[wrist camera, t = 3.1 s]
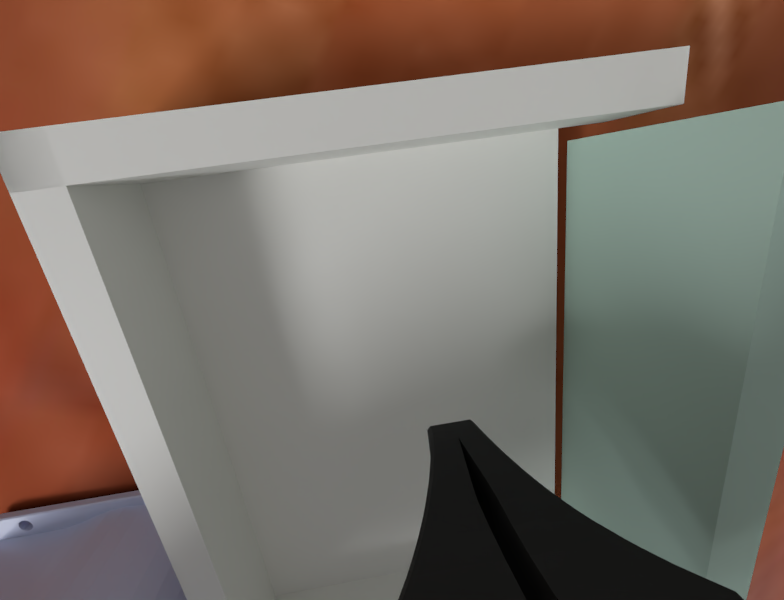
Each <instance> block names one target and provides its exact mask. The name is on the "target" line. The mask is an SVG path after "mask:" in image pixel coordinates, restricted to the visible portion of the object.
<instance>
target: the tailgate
mask: <svg viewBox="0 0 784 600" xmlns="http://www.w3.org/2000/svg"><path fill="white" fill-rule="evenodd" d="M783 447H784V101H780V102H775V103H770V104H764V105H759V106H753V107H748V108H743V109H737V110H732V111H726V112H721V113H715V114H710V115H705V116H699V117H694V118H688V119H683V120H678V121H672V122H667V123H661V124H656V125H650V126H645V127H640V128H634V129H629V130H623V131H618V132H613V133H607V134H602V135H596V136H591V137H586V138H580V139H575V140H569V141H567V188H566V247H565V305H564V363H563V421H562V480H561V499H562V500H563V501H565V502H566V503H567V504H569V505H570V506H572V507H573V508H575V509H576V510H578V511H579V512H581V513H582V514H584V515H585V516H587V517H589V518H590V519H592V520H593V521H595V522H597V523H599V524H600V525H602V526H604V527H605V528H607V529H609V530H611V531H612V532H614V533H616V534H617V535H619V536H621V537H623V538H624V539H626V540H628V541H630V542H632V543H633V544H635V545H637V546H639V547H641V548H643V549H645V550H647V551H649V552H651V553H653V554H655V555H657V556H659V557H661V558H663V559H665V560H667V561H669V562H671V563H673V564H675V565H677V566H679V567H681V568H684V569H686V570H688V571H690V572H693V573H695V574H697V575H699V576H702V577H704V578H706V579H708V580H711V581H713V582H715V583H717V584H720V585H722V586H724V587H727V588H729V589H731V590H733V591H736V592H737V593H738V594H739V595H740V596H741V597H742V598H743V599H744V600H746V598H747V594H748V590H749V586H750V582H751V578H752V574H753V570H754V566H755V562H756V558H757V553H758V549H759V545H760V541H761V537H762V533H763V529H764V525H765V521H766V517H767V513H768V509H769V504H770V500H771V496H772V492H773V488H774V484H775V480H776V476H777V472H778V468H779V464H780V459H781V455H782V451H783Z"/></svg>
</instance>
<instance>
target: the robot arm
mask: <svg viewBox="0 0 784 600" xmlns="http://www.w3.org/2000/svg"><path fill="white" fill-rule="evenodd" d="M427 432H428V440H429V449H430V473H429V484H428V490H427V497H426V503H425V509H424V514H423V519H422V524H421V528H420V532H419V536H418V540H417V544H416V547H415V551H414V554H413V558H412V561H411V564H410V568H409V571H408V574H407V577H406V579H405V582H404V585H403V588H402V590H401V593H400V596H399V599H398V600H744V599H743V598H742V597H741V596H740V595H739V594H738V593H737V592H736V591H733V590H731V589H729V588H727V587H724V586H722V585H720V584H717V583H715V582H713V581H711V580H708V579H706V578H704V577H702V576H699V575H697V574H695V573H693V572H690V571H688V570H686V569H684V568H681V567H679V566H677V565H675V564H673V563H671V562H669V561H667V560H665V559H663V558H661V557H659V556H657V555H655V554H653V553H651V552H649V551H647V550H645V549H643V548H641V547H639V546H637V545H635V544H633V543H632V542H630V541H628V540H626V539H624V538H623V537H621V536H619V535H617V534H616V533H614V532H612V531H611V530H609V529H607V528H605V527H604V526H602V525H600V524H599V523H597V522H595V521H593V520H592V519H590V518H589V517H587V516H585V515H584V514H582V513H581V512H579V511H578V510H576V509H575V508H573V507H572V506H570V505H569V504H567V503H566V502H565V501H563V500H562V499H560V498H559V497H558V496H556V495H555V494H553V493H552V492H551V491H549V490H548V489H547V488H545V487H544V486H543V485H542V484H540V483H539V482H538V481H537V480H535V479H534V478H533V477H532V476H530V475H529V474H528V473H527V472H526V471H524V470H523V469H522V468H521V467H520V466H519V465H517V464H516V463H515V462H514V461H513V460H512V459H511V458H510V457H509V456H507V455H506V454H505V453H504V452H503V451H502V450H501V449H500V448H499V447H498V446H497V445H496V444H495V443H494V442H493V441H492V440H490V439H489V438H488V437H487V436H486V434H485V433H484V432H483V431H482V430H481V429H480V428H479V427H478V426H477V425H476V424H475V423H474V422H473V421H471V420H470V419H469V420H463V421H457V422H452V423H446V424H440V425H434V426H430V427H429V428H428V430H427ZM0 600H187V599H186V596H185V594H184V592H183V590H182V587H181V585H180V583H179V580H178V578H177V576H176V574H175V571H174V569H173V567H172V564H171V562H170V560H169V558H168V555H167V553H166V551H165V548H164V546H163V544H162V541H161V539H160V537H159V535H158V532H157V530H156V528H155V525H154V523H153V521H152V519H151V516H150V514H149V512H148V509H147V507H146V505H145V503H144V500H143V498H142V496H141V493H140V491H139V490H136V491H131V492H125V493H119V494H113V495H107V496H101V497H96V498H90V499H84V500H78V501H72V502H67V503H61V504H55V505H49V506H43V507H37V508H32V509H26V510H20V511H14V512H8V513H2V514H0Z"/></svg>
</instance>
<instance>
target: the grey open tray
mask: <svg viewBox="0 0 784 600" xmlns="http://www.w3.org/2000/svg"><path fill="white" fill-rule="evenodd" d="M689 50H690V46H682V47H674V48H666V49H658V50H650V51H642V52H634V53H626V54H618V55H610V56H602V57H594V58H586V59H578V60H570V61H562V62H555V63H547V64H539V65H531V66H523V67H515V68H507V69H499V70H491V71H483V72H475V73H467V74H459V75H451V76H443V77H435V78H427V79H419V80H411V81H403V82H395V83H387V84H379V85H371V86H363V87H355V88H347V89H339V90H331V91H323V92H315V93H307V94H299V95H291V96H283V97H275V98H267V99H259V100H251V101H243V102H235V103H227V104H219V105H211V106H203V107H195V108H187V109H179V110H171V111H163V112H155V113H147V114H139V115H131V116H123V117H115V118H107V119H99V120H91V121H83V122H75V123H67V124H59V125H51V126H43V127H35V128H27V129H19V130H11V131H3V132H0V173H1V175H2V177H3V180H4V182H5V184H6V187H7V189H8V191H9V193H10V196H11V198H12V200H13V203H14V205H15V207H16V210H17V212H18V214H19V216H20V219H21V221H22V223H23V226H24V228H25V230H26V232H27V235H28V237H29V239H30V242H31V244H32V246H33V248H34V251H35V253H36V255H37V258H38V260H39V262H40V264H41V267H42V269H43V271H44V274H45V276H46V278H47V280H48V283H49V285H50V287H51V290H52V292H53V294H54V297H55V299H56V301H57V303H58V306H59V308H60V310H61V313H62V315H63V317H64V319H65V322H66V324H67V326H68V329H69V331H70V333H71V335H72V338H73V340H74V342H75V345H76V347H77V349H78V351H79V354H80V356H81V358H82V361H83V363H84V365H85V367H86V370H87V372H88V374H89V377H90V379H91V381H92V384H93V386H94V388H95V390H96V393H97V395H98V397H99V400H100V402H101V404H102V406H103V409H104V411H105V413H106V416H107V418H108V420H109V422H110V425H111V427H112V429H113V432H114V434H115V436H116V438H117V441H118V443H119V445H120V448H121V450H122V452H123V454H124V457H125V459H126V461H127V464H128V466H129V468H130V471H131V473H132V475H133V477H134V480H135V482H136V484H137V487H138V489H139V491H140V493H141V496H142V498H143V500H144V503H145V505H146V507H147V509H148V512H149V514H150V516H151V519H152V521H153V523H154V525H155V528H156V530H157V532H158V535H159V537H160V539H161V541H162V544H163V546H164V548H165V551H166V553H167V555H168V558H169V560H170V562H171V564H172V567H173V569H174V571H175V574H176V576H177V578H178V580H179V583H180V585H181V587H182V590H183V592H184V594H185V596H186V599H187V600H398V599H399V596H400V593H401V590H402V588H403V585H404V582H405V579H406V577H407V574H408V571H409V568H410V564H411V561H412V558H413V554H414V551H415V547H416V544H417V540H418V536H419V532H420V528H421V524H422V519H423V514H424V509H425V503H426V497H427V490H428V484H429V473H430V449H429V440H428V432H427V430H428V428H429V427H430V426H434V425H440V424H446V423H452V422H457V421H463V420H469V419H470V420H471V421H473V422H474V423H475V424H476V425H477V426H478V427H479V428H480V429H481V430H482V431H483V432H484V433H485V434H486V436H487V437H488V438H489V439H490V440H492V441H493V442H494V443H495V444H496V445H497V446H498V447H499V448H500V449H501V450H502V451H503V452H504V453H505V454H506V455H507V456H509V457H510V458H511V459H512V460H513V461H514V462H515V463H516V464H517V465H519V466H520V467H521V468H522V469H523V470H524V471H526V472H527V473H528V474H529V475H530V476H532V477H533V478H534V479H535V480H537V481H538V482H539V483H540V484H542V485H543V486H544V487H545V488H547V489H548V490H549V491H551V492H552V493H553V494H555V406H556V306H557V206H558V128H565V127H572V126H580V125H587V124H595V123H602V122H607V121H612V120H616V119H620V118H625V117H629V116H633V115H637V114H642V113H646V112H650V111H655V110H659V109H663V108H668V107H672V106H676V105H681V104H684V97H685V88H686V78H687V69H688V59H689Z"/></svg>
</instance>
